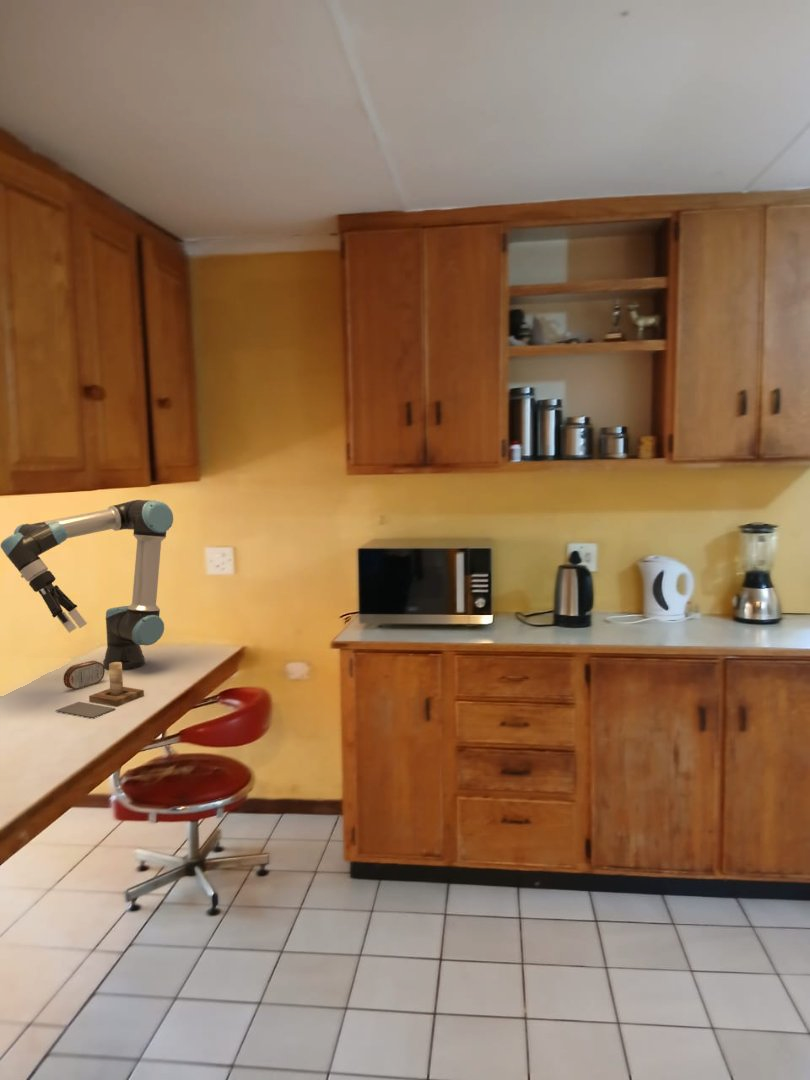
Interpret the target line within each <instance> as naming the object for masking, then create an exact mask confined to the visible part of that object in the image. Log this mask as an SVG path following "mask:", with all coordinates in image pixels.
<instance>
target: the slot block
mask: <svg viewBox="0 0 810 1080" xmlns="http://www.w3.org/2000/svg"><path fill="white" fill-rule="evenodd" d="M139 697H140V698H141V697H145V690H144V689H140V688H133V687H127V686H123V694H122V695H119V696H111V695H110V687H109V688H107V689H105V690H102V691H98V692H96V693H93V694H91V695H89V696H88V699H89V702H90V703H94V702H95V703H96V704H99V703H100V704H101V705H105V706H106V705H107V706H110V707H111V706H113V707H115V708H116V707H120V706H122V705H124V704H126V703H129V702H132V701H134V699H135V700H136V699H140V698H139ZM89 702H88V703H89Z"/></svg>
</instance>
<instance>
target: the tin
mask: <svg viewBox="0 0 810 1080" xmlns="http://www.w3.org/2000/svg"><path fill="white" fill-rule="evenodd" d="M105 671H106V670H105V668H104V666H103V663H102V662H100V661H97V660H88V661H85V662H81V663H77V664H73V665H71V666H70V667H68V668H67V669H66V670H65V672H64V674H63V684H64V686H65V687H67V688H68V689H72V690H80V689H83V687H84V688H87V687H90V685H91V686H94V685H97V684H98V683H99V684H100V682H101V681H102V680H103V679H104V677H105ZM93 684H94V685H93Z"/></svg>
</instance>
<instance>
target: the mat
mask: <svg viewBox="0 0 810 1080" xmlns="http://www.w3.org/2000/svg"><path fill="white" fill-rule="evenodd" d="M56 711H58V712H57V713H60V712H62V713H61V714H65V713H68V714H67V715H70V714H73V715H72V716H76V715H79V716H78V717H81V716H83V718H86V717H89V718H88V719H91V718H93V719H96V718H98V717H101V716H104V715H106V714H108V713H110V712H114V711H116V707H111V706H106V705H105V706H104V705H99V704H93V703H89V702H81V701H77V702H74V703H72V704H69V705H66V706H64V707H61V708H57V709H55V712H56ZM103 714H104V715H103ZM97 716H98V717H97ZM95 717H96V718H95Z"/></svg>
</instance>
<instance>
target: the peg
mask: <svg viewBox="0 0 810 1080" xmlns="http://www.w3.org/2000/svg"><path fill="white" fill-rule="evenodd" d="M108 674H109V688H110V695H111V696H119V695H122V694H123V687H124V684H123V682H124V681H123V679H124V678H123V670H122V663H121V662H113V663H110V664H109V669H108Z"/></svg>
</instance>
